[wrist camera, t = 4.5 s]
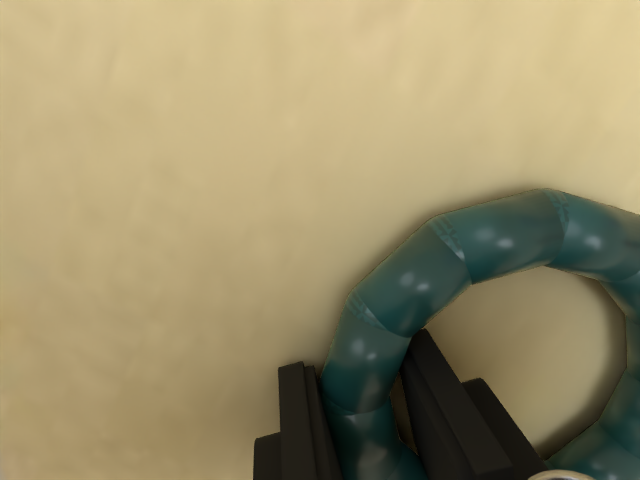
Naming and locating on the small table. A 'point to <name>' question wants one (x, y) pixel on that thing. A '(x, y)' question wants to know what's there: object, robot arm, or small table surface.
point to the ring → (445, 286)
